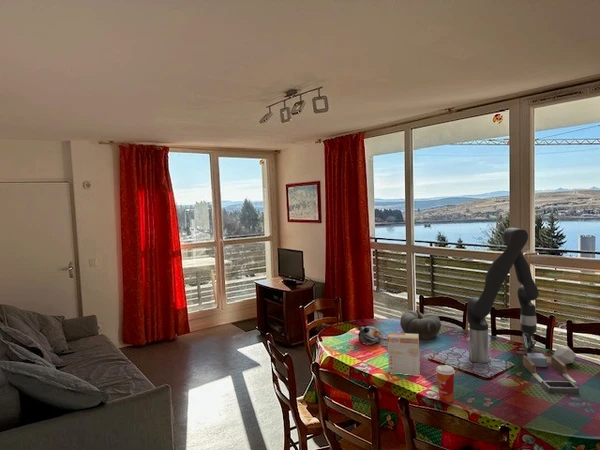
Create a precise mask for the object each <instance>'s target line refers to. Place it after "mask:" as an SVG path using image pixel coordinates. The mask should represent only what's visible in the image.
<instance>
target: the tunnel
mask: <svg viewBox="0 0 600 450" xmlns="http://www.w3.org/2000/svg"><path fill="white" fill-rule="evenodd" d="M550 358H551V359H550V361H551V367H553V369H554V370H556V371H557V372H558V373H559V374H560V375H562V376H563V374H567V364H564V363H563V362H561V361H560V360H559V359H558V358H556V357H555V356H553V355H551V357H550ZM522 366H523V367H524V368H525V369H526V370H527V371H528V372H529V373H530V374H531V375H532V376H533V373H536V374H537V366H536V365H535V364H534V363H533V362H532V361H531V360H530V359H529V358H528V357H527V355H522Z"/></svg>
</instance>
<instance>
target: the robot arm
mask: <svg viewBox="0 0 600 450" xmlns="http://www.w3.org/2000/svg"><path fill="white" fill-rule="evenodd" d="M528 239H529V234H528V231H527V230H525V229H524V228H517V227H508V228H506V229H505V230H504V232H503V241H504V243H505V245H506V247H505V249H504V251H502V253H501V254H500V255H498V257H496V258H494V260H493V261H492V262H491V264H490V266H489V268H488V269H487V272H486V273H485V274H486V275H485V278H484V287H483V291H482V292H481V294H480V297H475V296H474V297H471V298H470V299H468V301H467V305H466V312H467V322H468V325H469V340H468V358H469V360H470V361H471V362H474V363H477V364H484V363H485V364H486V363H488V362H490V346H489V323H488V321H487V320H486V317H487V316H489V314H490V313H491V310H492V309H493V306H494V303H495V300H496V298H497V296H498V293H499V292H500V290H501V288H502V287H503V284H504V282H505V280H506V279H507V277H508V275H509V274H510V271H511V269H512V267H514V271H515V275H516V279H517V282H518V283H519V284H521V285H520V286H519V287H518V288H517V291H516V292H517V298H518V303H519V305H520V331H521V332H522V333H521V337H522V342H523V345H524V346H525V354H526V355H527V353H533V350H532V349H534V348H535V346H536V345H537V341H536V340H535V335H534V334H536V333H537V326H538V325H537V308H536V305H535V304H534V303H533V302H532V301H536V300H537V299H538V297H539V294H540V293H539V289H538V286H537V285H536V282H535V281H534V279H533V277H532V271H531V268H530V265H529V263H528V261H527V259H526V257H525V256H524V253H523V252H522V250H523V249H524V247H525V245H526V244H527V242H528V241H529V240H528Z"/></svg>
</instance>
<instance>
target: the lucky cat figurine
mask: <svg viewBox="0 0 600 450" xmlns="http://www.w3.org/2000/svg"><path fill="white" fill-rule="evenodd" d="M357 335H358V342H360V343H361V342H362V343H365V344H370V345H373V344H377V343H381V342H382V341H381V340H382V338H383V336H384V333H382V332H380V331H379V329H378V328H377V327H375V326H372V325H367V326H365V327H364V326H363V325H362V326H361V327H360V330H359V332H358V334H357ZM380 341H381V342H380ZM376 342H377V343H376ZM362 343H361V344H362Z"/></svg>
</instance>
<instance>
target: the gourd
mask: <svg viewBox="0 0 600 450" xmlns="http://www.w3.org/2000/svg"><path fill="white" fill-rule="evenodd" d="M399 324H400V327H401V329H402V331H403V333H408V334H419V340H420V339H421V340H429V339H432V338H434V337H435V336H437V335H438V334H439V332H440V330H441V327H442V322H441V319H440V317H439V316H438V315H437V314H436V313H434V312H433V313H432V312H428V313H421V312H419V309H417V310H406V311H405V312H404V313H402V315H401V316H400V320H399Z"/></svg>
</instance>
